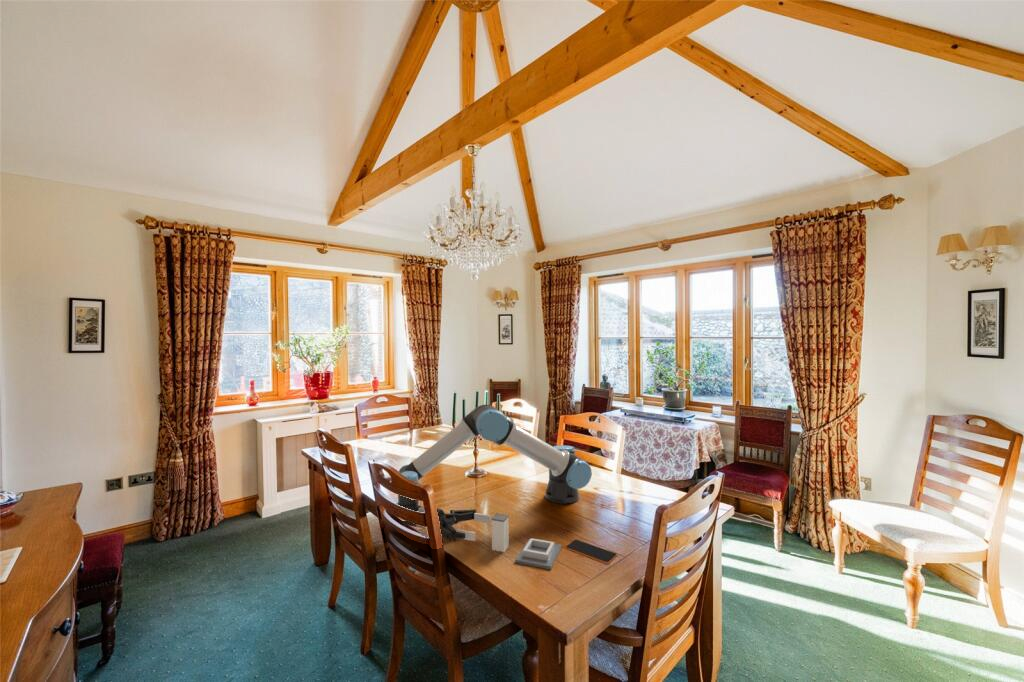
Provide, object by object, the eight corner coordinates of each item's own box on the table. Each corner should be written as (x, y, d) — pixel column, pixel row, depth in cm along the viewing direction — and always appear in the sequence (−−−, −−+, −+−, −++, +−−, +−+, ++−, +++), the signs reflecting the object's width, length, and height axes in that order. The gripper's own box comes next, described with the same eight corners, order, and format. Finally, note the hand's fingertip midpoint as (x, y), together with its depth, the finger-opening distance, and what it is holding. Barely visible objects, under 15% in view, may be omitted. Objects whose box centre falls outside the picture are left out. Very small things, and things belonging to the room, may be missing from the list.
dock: (528, 542, 149) (528, 533, 149) (561, 547, 145) (561, 539, 144) (515, 562, 136) (515, 553, 136) (550, 569, 131) (550, 560, 131)
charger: (496, 543, 148) (496, 513, 148) (508, 545, 146) (508, 514, 146) (491, 550, 144) (491, 518, 143) (504, 552, 142) (503, 520, 142)
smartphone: (575, 540, 150) (575, 538, 150) (618, 556, 140) (618, 553, 140) (563, 549, 144) (563, 546, 144) (608, 566, 134) (608, 563, 134)
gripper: (447, 514, 166) (496, 522, 158) (411, 544, 142) (467, 556, 135) (447, 495, 166) (496, 503, 158) (411, 523, 142) (466, 533, 135)
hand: (483, 527), depth 147 cm, fingers open, 13 cm apart
